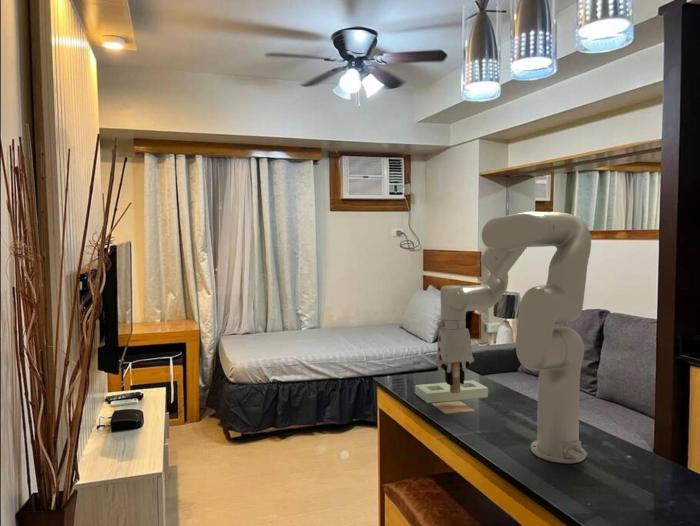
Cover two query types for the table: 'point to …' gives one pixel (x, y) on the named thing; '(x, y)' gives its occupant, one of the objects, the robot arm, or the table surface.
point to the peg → (455, 377)
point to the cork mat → (452, 407)
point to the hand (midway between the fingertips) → (455, 383)
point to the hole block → (442, 392)
